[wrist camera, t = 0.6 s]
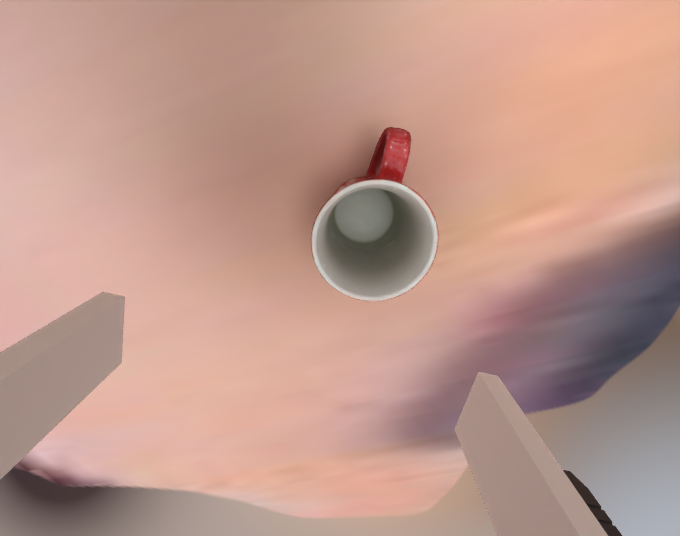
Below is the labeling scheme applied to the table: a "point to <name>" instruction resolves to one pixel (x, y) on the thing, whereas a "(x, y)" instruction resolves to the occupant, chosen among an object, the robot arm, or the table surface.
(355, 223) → the mug
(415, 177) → the table surface
